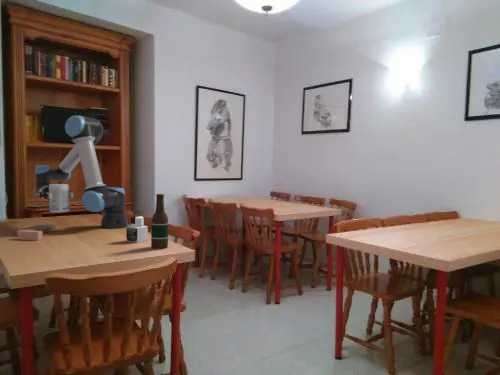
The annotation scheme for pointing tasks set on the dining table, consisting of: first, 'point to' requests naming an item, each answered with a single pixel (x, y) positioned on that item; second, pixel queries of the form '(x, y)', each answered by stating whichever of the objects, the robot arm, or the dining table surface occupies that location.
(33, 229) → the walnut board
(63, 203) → the supplement tub
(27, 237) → the block
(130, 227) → the medicine bottle
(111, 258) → the dining table surface
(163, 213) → the beer bottle
